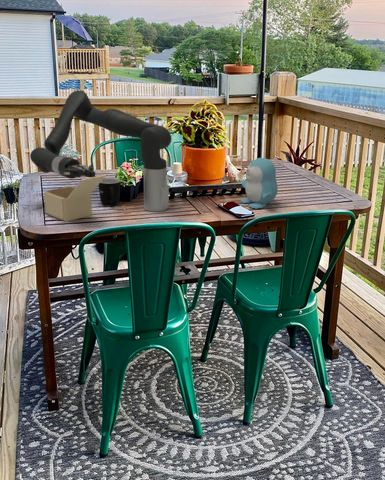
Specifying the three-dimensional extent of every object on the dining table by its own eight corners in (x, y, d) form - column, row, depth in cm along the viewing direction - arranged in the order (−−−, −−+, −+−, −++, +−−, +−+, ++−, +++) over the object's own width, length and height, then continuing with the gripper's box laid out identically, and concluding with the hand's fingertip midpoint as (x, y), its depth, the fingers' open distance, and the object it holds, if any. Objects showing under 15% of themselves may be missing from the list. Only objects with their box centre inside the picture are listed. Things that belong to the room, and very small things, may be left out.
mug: (97, 201, 210) (96, 178, 207) (118, 200, 213) (117, 177, 210) (102, 210, 200) (101, 185, 196) (124, 208, 203) (123, 184, 199)
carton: (44, 213, 194) (42, 191, 191) (71, 206, 203) (70, 185, 200) (64, 222, 185) (63, 198, 182) (93, 214, 194) (91, 192, 191)
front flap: (81, 179, 172) (82, 180, 172) (105, 174, 180) (106, 175, 180) (66, 198, 182) (67, 199, 182) (89, 193, 190) (90, 194, 189)
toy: (232, 198, 220) (235, 153, 213) (260, 195, 225) (264, 152, 218) (257, 213, 200) (261, 164, 192) (288, 210, 204) (292, 162, 197)
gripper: (49, 159, 181) (77, 167, 170) (80, 154, 190) (107, 161, 179) (51, 179, 184) (78, 188, 173) (81, 173, 193) (108, 182, 182)
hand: (93, 174), depth 176 cm, fingers closed
